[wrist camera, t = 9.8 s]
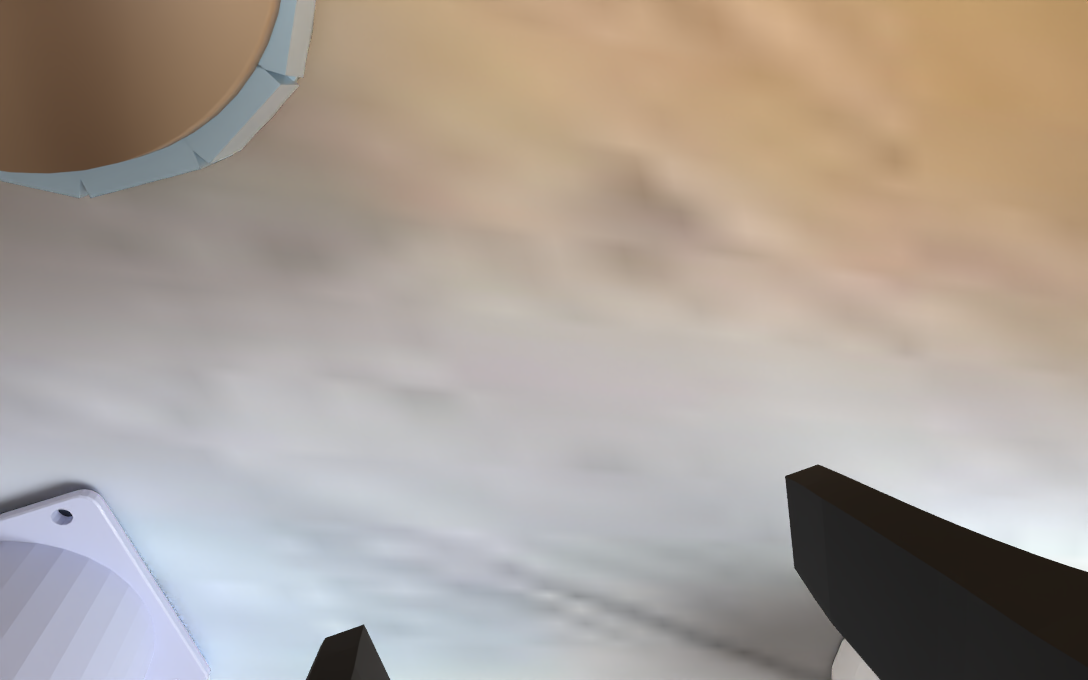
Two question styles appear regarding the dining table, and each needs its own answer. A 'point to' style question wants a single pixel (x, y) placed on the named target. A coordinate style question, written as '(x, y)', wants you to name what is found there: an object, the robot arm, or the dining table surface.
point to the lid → (119, 75)
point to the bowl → (216, 136)
